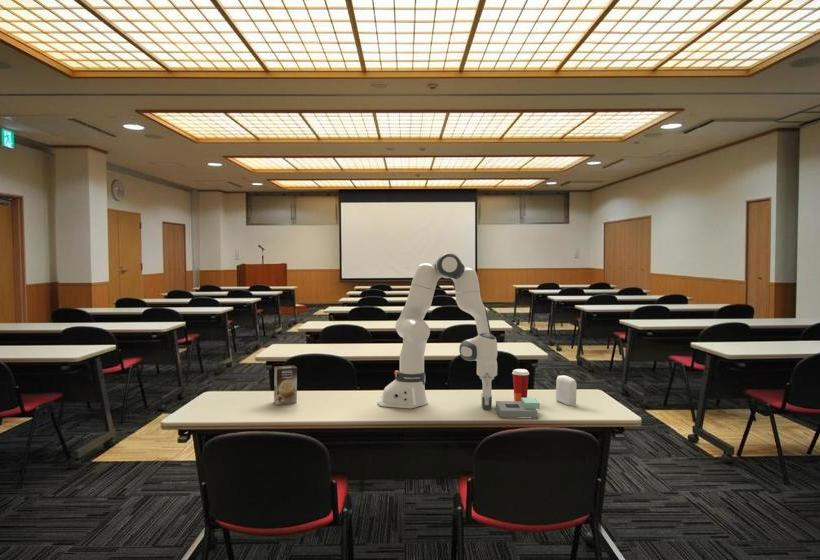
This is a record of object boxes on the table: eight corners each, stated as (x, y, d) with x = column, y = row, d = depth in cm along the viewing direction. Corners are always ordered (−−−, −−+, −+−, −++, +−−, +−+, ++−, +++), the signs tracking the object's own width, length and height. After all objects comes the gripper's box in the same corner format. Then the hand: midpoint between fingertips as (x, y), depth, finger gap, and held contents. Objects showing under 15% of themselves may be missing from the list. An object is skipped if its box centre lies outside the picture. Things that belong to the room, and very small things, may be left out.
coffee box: (276, 405, 220) (276, 369, 219) (273, 401, 226) (273, 366, 225) (297, 402, 224) (297, 367, 223) (294, 399, 230) (294, 364, 229)
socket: (500, 417, 204) (500, 410, 204) (495, 407, 218) (495, 401, 218) (537, 418, 203) (537, 411, 203) (530, 408, 217) (530, 401, 217)
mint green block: (524, 408, 206) (524, 402, 206) (521, 403, 214) (521, 397, 214) (539, 409, 206) (539, 403, 206) (535, 403, 214) (535, 397, 214)
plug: (482, 409, 216) (482, 395, 216) (481, 406, 220) (481, 393, 220) (491, 409, 216) (491, 395, 216) (490, 406, 220) (490, 393, 220)
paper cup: (527, 398, 233) (528, 368, 232) (530, 403, 225) (530, 372, 225) (510, 398, 234) (511, 368, 233) (512, 402, 226) (513, 372, 226)
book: (577, 405, 222) (578, 378, 222) (570, 406, 220) (570, 379, 220) (561, 399, 231) (562, 373, 231) (554, 400, 230) (554, 374, 229)
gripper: (494, 376, 207) (494, 409, 207) (493, 366, 227) (493, 396, 228) (479, 376, 208) (479, 408, 208) (479, 365, 228) (479, 395, 229)
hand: (486, 402), depth 218 cm, fingers open, 6 cm apart
